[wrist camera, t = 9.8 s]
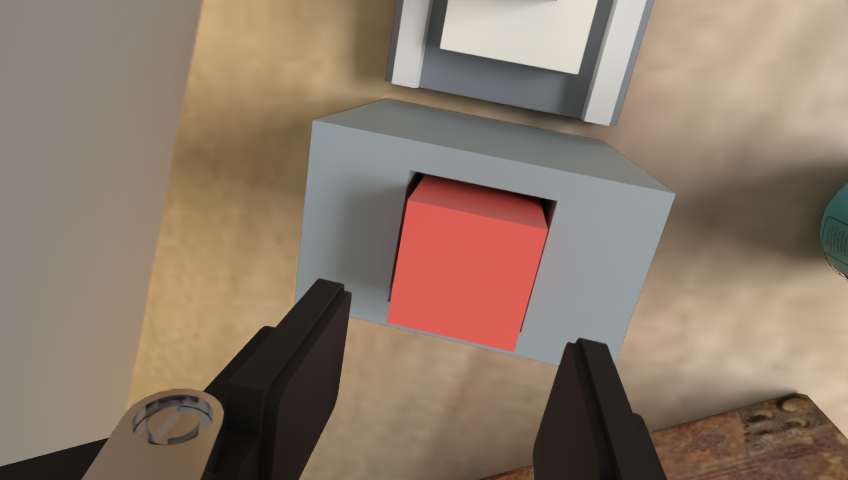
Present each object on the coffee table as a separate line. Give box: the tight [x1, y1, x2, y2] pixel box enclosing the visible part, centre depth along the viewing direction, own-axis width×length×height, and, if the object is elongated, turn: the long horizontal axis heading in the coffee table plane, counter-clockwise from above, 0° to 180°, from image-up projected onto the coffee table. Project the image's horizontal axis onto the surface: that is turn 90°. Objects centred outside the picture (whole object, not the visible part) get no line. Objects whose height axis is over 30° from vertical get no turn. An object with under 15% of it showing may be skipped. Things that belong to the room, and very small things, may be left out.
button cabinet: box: [294, 99, 676, 366], centre depth 23 cm, size 7×12×12 cm, turn 80°
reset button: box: [387, 174, 548, 352], centre depth 18 cm, size 4×4×4 cm
